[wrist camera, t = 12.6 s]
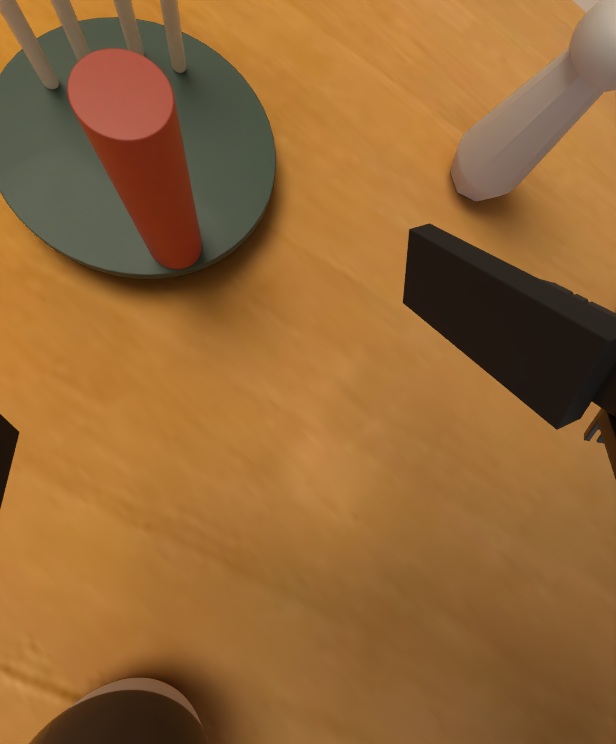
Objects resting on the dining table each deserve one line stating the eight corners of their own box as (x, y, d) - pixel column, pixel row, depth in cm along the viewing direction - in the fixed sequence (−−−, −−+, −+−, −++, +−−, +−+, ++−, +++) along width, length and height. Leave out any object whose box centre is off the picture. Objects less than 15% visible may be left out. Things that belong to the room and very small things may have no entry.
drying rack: (-38, 56, 22) (-373, -378, 10) (229, 27, 26) (226, -313, 14) (48, 314, 22) (-188, 197, 10) (305, 248, 26) (372, 103, 13)
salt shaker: (453, 217, 30) (619, 76, 17) (431, 151, 30) (579, -36, 17) (511, 202, 31) (704, 62, 18) (489, 140, 31) (666, -43, 18)
